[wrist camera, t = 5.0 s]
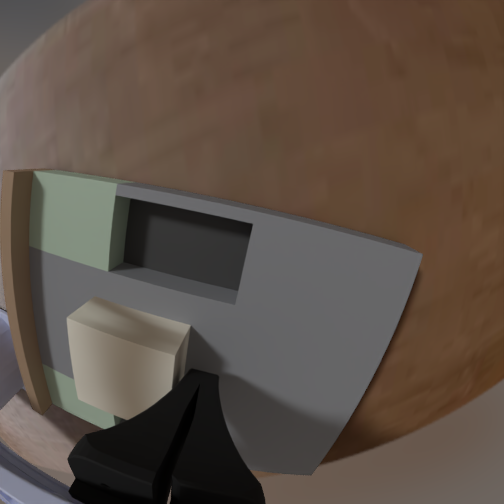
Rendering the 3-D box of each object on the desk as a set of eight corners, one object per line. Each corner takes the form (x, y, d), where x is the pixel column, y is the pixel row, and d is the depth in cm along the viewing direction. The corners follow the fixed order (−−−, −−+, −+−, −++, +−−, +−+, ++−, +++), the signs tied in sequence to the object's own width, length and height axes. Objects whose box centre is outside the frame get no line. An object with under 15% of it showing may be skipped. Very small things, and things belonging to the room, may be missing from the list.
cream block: (98, 373, 14) (78, 399, 11) (94, 296, 13) (66, 317, 10) (180, 401, 14) (168, 434, 11) (190, 325, 13) (175, 355, 10)
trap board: (55, 383, 17) (32, 409, 14) (45, 168, 13) (3, 170, 10) (309, 454, 17) (312, 491, 14) (404, 244, 13) (439, 263, 10)
